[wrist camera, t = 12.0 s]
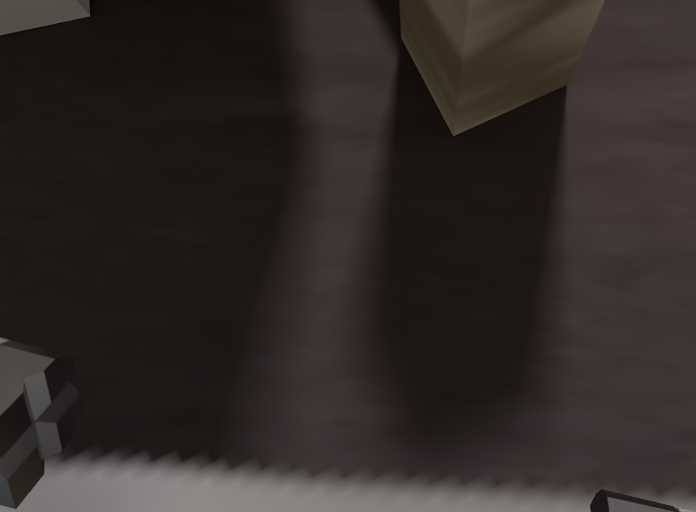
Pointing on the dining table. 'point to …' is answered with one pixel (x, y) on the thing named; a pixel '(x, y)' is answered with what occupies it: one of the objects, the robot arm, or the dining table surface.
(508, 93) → the wooden handled saw
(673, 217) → the dining table surface
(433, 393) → the dining table surface
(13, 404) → the robot arm
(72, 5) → the cabinet
